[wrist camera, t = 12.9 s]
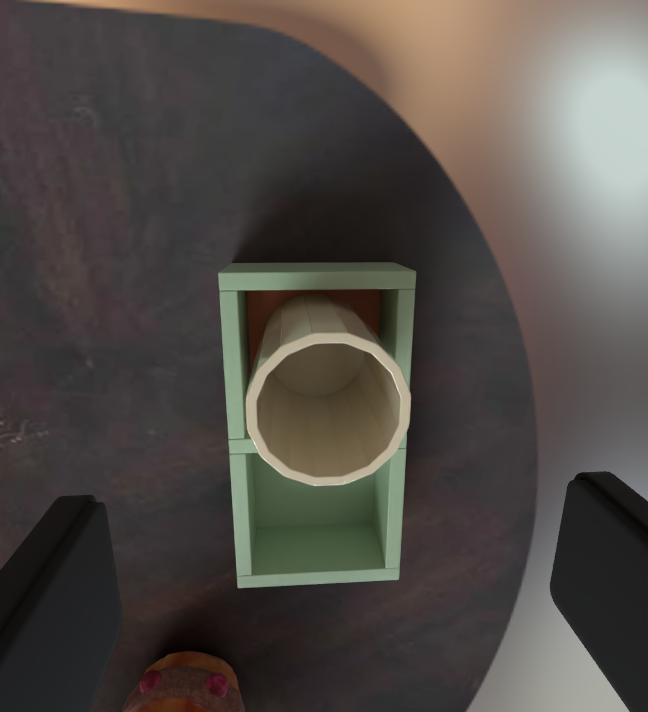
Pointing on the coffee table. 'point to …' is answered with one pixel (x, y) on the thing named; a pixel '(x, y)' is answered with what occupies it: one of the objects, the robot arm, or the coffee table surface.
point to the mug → (186, 686)
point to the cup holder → (291, 497)
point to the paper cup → (325, 393)
